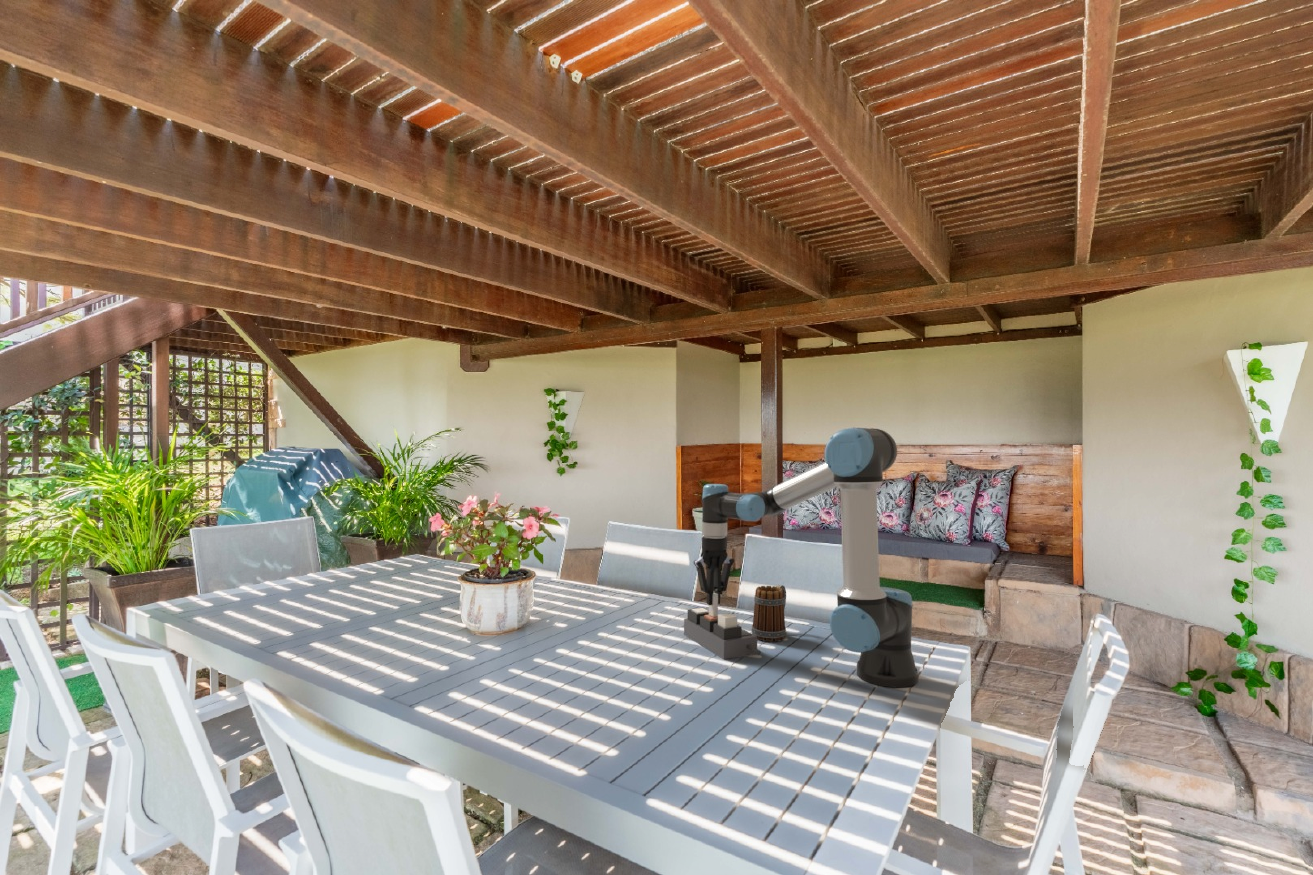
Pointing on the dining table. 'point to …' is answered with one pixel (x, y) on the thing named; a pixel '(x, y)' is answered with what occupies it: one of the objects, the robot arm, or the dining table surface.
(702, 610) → the button
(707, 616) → the button
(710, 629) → the push button switch box
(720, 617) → the button
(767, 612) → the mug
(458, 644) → the dining table surface
